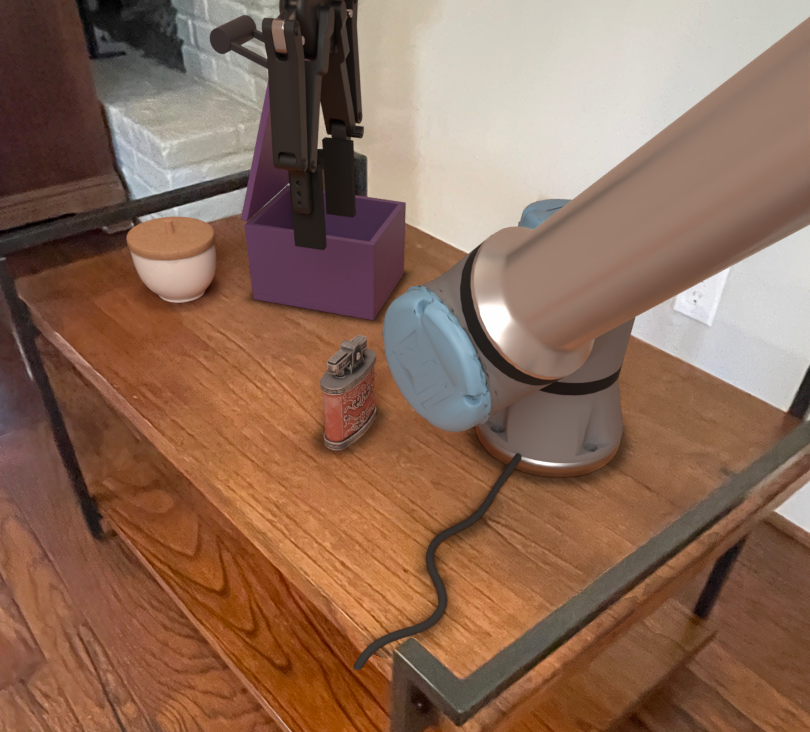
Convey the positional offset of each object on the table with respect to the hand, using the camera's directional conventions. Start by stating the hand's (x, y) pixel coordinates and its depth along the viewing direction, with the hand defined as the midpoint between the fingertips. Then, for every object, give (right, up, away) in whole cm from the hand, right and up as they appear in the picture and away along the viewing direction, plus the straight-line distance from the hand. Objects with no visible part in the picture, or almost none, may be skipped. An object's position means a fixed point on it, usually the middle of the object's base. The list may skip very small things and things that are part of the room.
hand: (326, 229), depth 69 cm
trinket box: (-22, +4, +31) cm, 39 cm away
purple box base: (-3, +6, +33) cm, 34 cm away
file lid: (-7, +20, +21) cm, 30 cm away
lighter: (+1, -17, +11) cm, 20 cm away
